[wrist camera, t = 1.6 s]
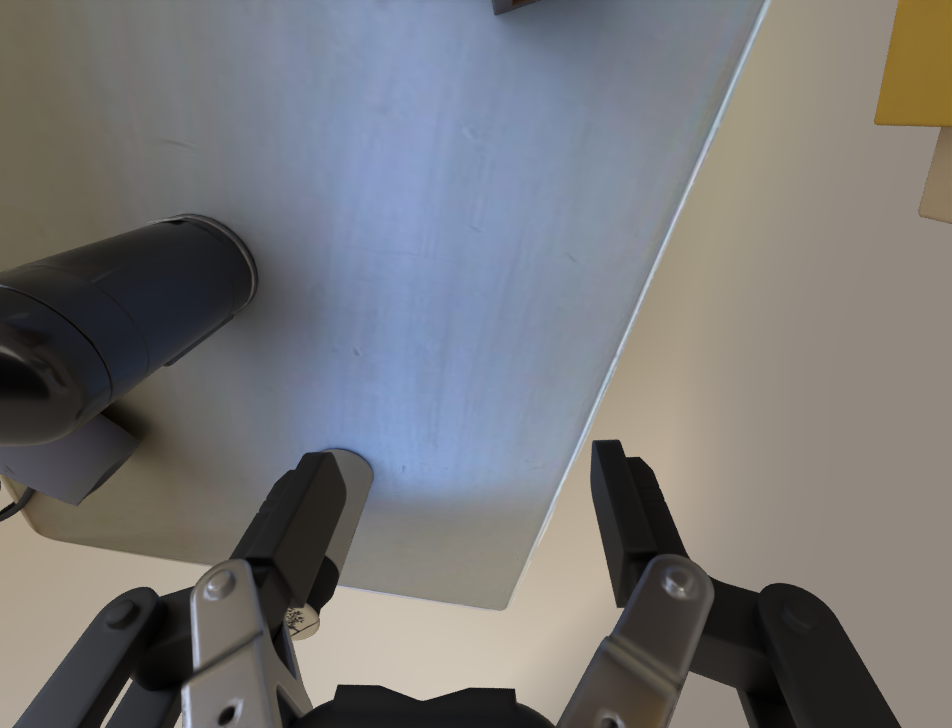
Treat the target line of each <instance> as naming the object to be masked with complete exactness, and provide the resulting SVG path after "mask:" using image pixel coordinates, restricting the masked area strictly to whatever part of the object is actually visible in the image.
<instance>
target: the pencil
mask: <svg viewBox="0 0 952 728" xmlns="http://www.w3.org/2000/svg"><path fill="white" fill-rule="evenodd" d="M874 123H875V124H876V125H891V126H928V127H941V130H940V133H939V137H938V141H937V144H936V148H935V152H934V155H933V159H932V162H931V166H930V170H929V173H928V177H927V181H926V185H925V188H924V191H923V195H922V199H921V203H920V206H919V210H918V213H919V215H920V216H921V217H924V218H928V219H932V220H937V221H941V222H945V223H949V224H952V0H898V5H897V10H896V15H895V20H894V25H893V31H892V35H891V40H890V45H889V50H888V55H887V60H886V65H885V70H884V75H883V80H882V84H881V90H880V95H879V100H878V104H877V110H876V114H875V119H874Z"/></svg>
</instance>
